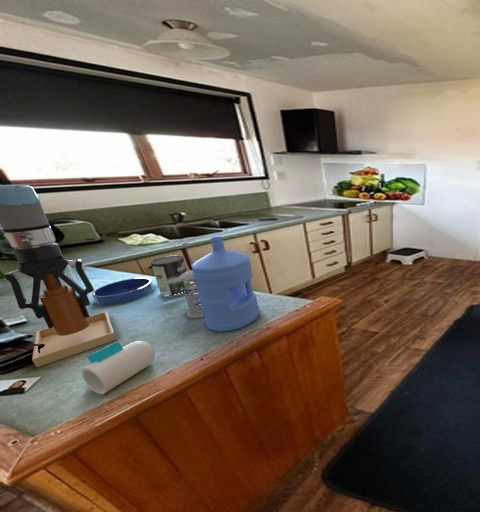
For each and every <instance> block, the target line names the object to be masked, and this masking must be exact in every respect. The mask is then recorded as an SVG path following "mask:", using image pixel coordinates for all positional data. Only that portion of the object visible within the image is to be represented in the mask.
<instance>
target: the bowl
mask: <svg viewBox="0 0 480 512" xmlns="http://www.w3.org/2000/svg"><path fill="white" fill-rule="evenodd" d="M154 289H155V287H154V284H153V281H152V279H151V278H148V277H134V278H128V279H122V280H117V281H114V282H111V283H108V284H105V285H102V286H100V287H98V288H96V289H94V291H93V292H91V296H92V298H93V301H94V303H95V305H98V306H113V305H120V304H125V303H128V302H132V301H136V300H138V299H140V298H143V297H146V296H147V295H149V294H151V293H152V292H153V291H154Z"/></svg>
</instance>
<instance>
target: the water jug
mask: <svg viewBox="0 0 480 512" xmlns="http://www.w3.org/2000/svg"><path fill="white" fill-rule="evenodd" d="M209 240H210V242H211V247H212V251H211V252H209V253H208V254H206V255H204V256H203V257H201V258H199V259H197V260H196V261H194V262H193V263H192V266H191V270H193V276H194V279H195V280H194V281H195V283H196V285H197V289H198V290H197V291H198V292H197V294H199V300H200V302H201V305H202V308H203V312H204V315H205V316H204V321H205V322H204V323H205V326H206V327H207V328H208V329H209V330H210V331H213V332H231V331H236V330H239V329H242V328H244V327H246V326H248V325H250V324H252V323H253V322H254V321H256V319H257V318H258V317H259V315H260V307H259V304H258V299H257V294H256V292H254V290H253V285H252V277H253V272H252V264H251V263H252V262H251V261H250V257H249V255H248V254H246V253H243V252H239V251H233V250H228V249H226V247H225V243H224V241H223V236H214V237H210V239H209Z"/></svg>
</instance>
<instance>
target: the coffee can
mask: <svg viewBox="0 0 480 512" xmlns="http://www.w3.org/2000/svg"><path fill="white" fill-rule="evenodd" d="M150 265H151V268H152V271H153V275H154V278H155V281H156V284H157V287H158V290H159V293H160V296H161V297H164V298H171V297H178V296H180V295H185V293H184V291H186V290H185V289H184V288H185V287H186V286H187V285H189V284H191V280H189V281H184V280H181V279H180V276H181V275H182V274H184V273H185V272H187V271H188V269H187V266H186V263H185V257H184V256H183V255H168V256H163V257H159V258H155V259H154V260H152V261H150ZM181 292H183V293H181ZM178 293H180V294H178ZM174 294H176V295H174ZM164 295H169V296H164Z"/></svg>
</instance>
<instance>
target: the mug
mask: <svg viewBox="0 0 480 512" xmlns="http://www.w3.org/2000/svg"><path fill="white" fill-rule="evenodd" d="M155 357H156V350H155V348H154V346H153V345H152V344H150V343H149V342H147V341H144V340H136V341H132V342H130V343H128V344H126V345H125V346H122V345H121V343H120V342H119V341H116V342H113V343H110V344H109V345H107V346H105V347H103V348H101V349H99V350H97V351H94V352H93V353H91V354H88V355H86V358H87V359H88V361H89V362H90V364H88V365H87V366H85V367H83V368H82V369H81V372H80V373H81V377H82V379H83V381H84V382H85V384H86V385H87V386H88V387H89V388H90V389H91V391H92V392H94V393H96V394H98V395H105V394H106V393H108V392H109V391H111V390H113V389H114V388H115V387H117V386H119V385H121V384H122V383H124V382H125V381H127V380H128V379H130V378H131V377H133V376H135V375H136V374H138V373H139V372H141V371H142V370H144V369H146V368H147V367H150V365H152V363H153V362H154V360H155Z"/></svg>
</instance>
